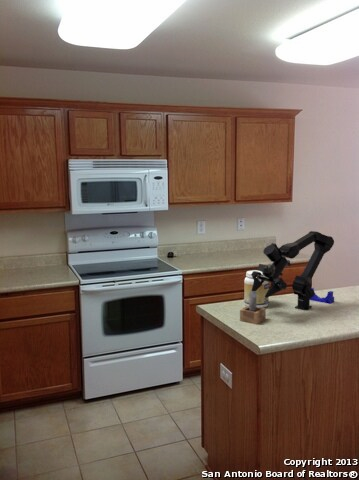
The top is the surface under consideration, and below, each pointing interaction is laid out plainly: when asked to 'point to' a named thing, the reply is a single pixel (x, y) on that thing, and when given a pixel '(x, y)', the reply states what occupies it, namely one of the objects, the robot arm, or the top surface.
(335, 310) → the top surface
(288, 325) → the top surface
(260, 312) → the walnut square holder
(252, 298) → the slate dowel
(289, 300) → the top surface
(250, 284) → the supplement tub
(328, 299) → the cable clip
